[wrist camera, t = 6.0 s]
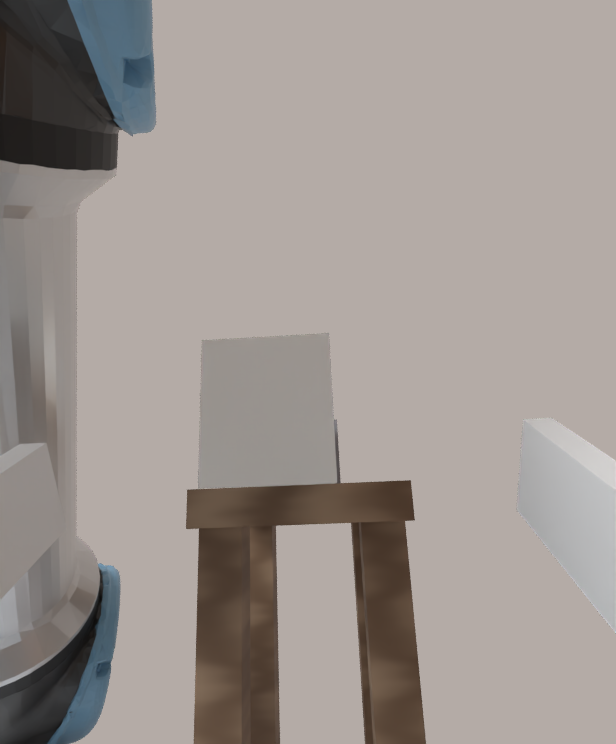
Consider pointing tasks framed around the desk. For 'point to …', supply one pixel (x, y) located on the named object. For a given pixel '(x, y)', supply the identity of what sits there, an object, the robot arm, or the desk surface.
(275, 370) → the light grey bar
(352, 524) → the walnut stand
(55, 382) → the robot arm
